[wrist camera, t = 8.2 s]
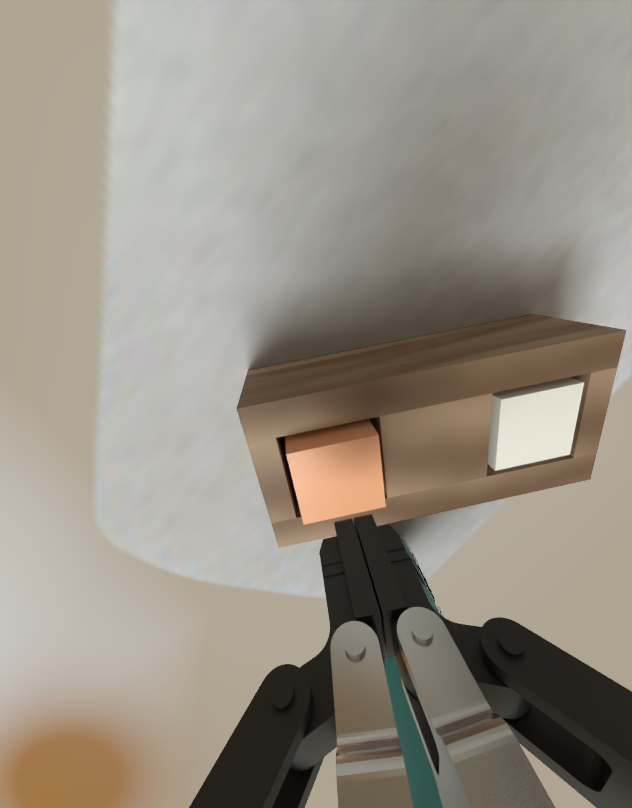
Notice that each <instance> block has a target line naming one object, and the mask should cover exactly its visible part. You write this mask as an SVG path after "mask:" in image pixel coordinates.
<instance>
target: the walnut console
mask: <svg viewBox="0 0 632 808" xmlns="http://www.w3.org/2000/svg"><path fill="white" fill-rule="evenodd" d="M625 333H626V330H622V329H617V328H611V327H605V326H599V325H593V324H587V323H581V322H575V321H569V320H563V319H557V318H551V317H546V316H540V315H534V314H532V315H526V316H521V317H516V318H511V319H506V320H501V321H496V322H491V323H486V324H481V325H476V326H471V327H466V328H461V329H456V330H451V331H445V332H440V333H435V334H430V335H425V336H420V337H415V338H410V339H405V340H400V341H395V342H390V343H385V344H380V345H375V346H370V347H364V348H359V349H354V350H349V351H344V352H339V353H334V354H329V355H324V356H319V357H314V358H309V359H304V360H299V361H294V362H289V363H283V364H278V365H273V366H268V367H263V368H258V369H253V370H248V372H247V376H246V379H245V382H244V386H243V389H242V393H241V396H240V399H239V403H238V406H237V411H238V415H239V418H240V421H241V424H242V428H243V431H244V434H245V438H246V441H247V444H248V448H249V451H250V454H251V457H252V461H253V464H254V467H255V471H256V474H257V477H258V480H259V484H260V487H261V490H262V494H263V497H264V500H265V503H266V507H267V510H268V513H269V517H270V520H271V523H272V526H273V530H274V533H275V536H276V540H277V543H278V546H279V548H280V547H285V546H289V545H294V544H298V543H303V542H307V541H312V540H316V539H321V538H326V537H330V536H335V535H336V531H335V526H334V522H335V521H340V520H345V519H349V518H352V519H353V518H354V517H358V516H363V515H368V514H372V515H373V518H374V520H375V523H376V526H380V525H385V524H389V523H394V522H398V521H403V520H407V519H412V518H416V517H421V516H426V515H430V514H435V513H439V512H444V511H448V510H453V509H457V508H462V507H466V506H471V505H476V504H480V503H485V502H489V501H494V500H498V499H503V498H507V497H512V496H516V495H521V494H526V493H530V492H534V491H539V490H544V489H548V488H553V487H557V486H562V485H566V484H571V483H576V482H580V481H585V480H589V479H590V478H591V474H592V470H593V466H594V461H595V457H596V453H597V449H598V445H599V441H600V436H601V433H602V428H603V424H604V420H605V416H606V412H607V408H608V404H609V399H610V395H611V391H612V387H613V383H614V379H615V375H616V370H617V366H618V362H619V358H620V354H621V350H622V346H623V341H624V337H625ZM568 377H571V378H573V379H576V380H579V381H582V382H584V387H583V392H582V397H581V402H580V407H579V412H578V417H577V422H576V427H575V432H574V437H573V442H572V447H571V452H570V455H566V456H561V457H557V458H552V459H548V460H543V461H538V462H534V463H529V464H524V465H520V466H515V467H511V468H506V469H501V470H497V471H495V470H494V469H493V468H492V467H491V466H489V465H488V451H489V437H490V423H491V409H492V394H493V393H496V392H501V391H505V390H510V389H515V388H520V387H525V386H530V385H534V384H539V383H544V382H549V381H554V380H559V379H564V378H568ZM365 419H369V420H370V422H371V423H372V425H373V427H374V428H375V430H376V431H377V433H378V435H379V443H380V453H381V463H382V473H383V483H384V494H385V504H386V507H383V508H378V509H374V510H369V511H365V512H360V513H355V514H351V515H346V516H342V517H337V518H332V519H328V520H323V521H319V522H314V523H309V524H305V525H304V524H303V520H302V516H301V512H300V508H299V504H298V500H297V496H296V492H295V488H294V484H293V480H292V476H291V472H290V468H289V464H288V460H287V456H286V441H285V436H287V435H292V434H297V433H302V432H307V431H312V430H317V429H321V428H326V427H331V426H336V425H341V424H346V423H350V422H355V421H360V420H365ZM353 522H354V521H353Z"/></svg>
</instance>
